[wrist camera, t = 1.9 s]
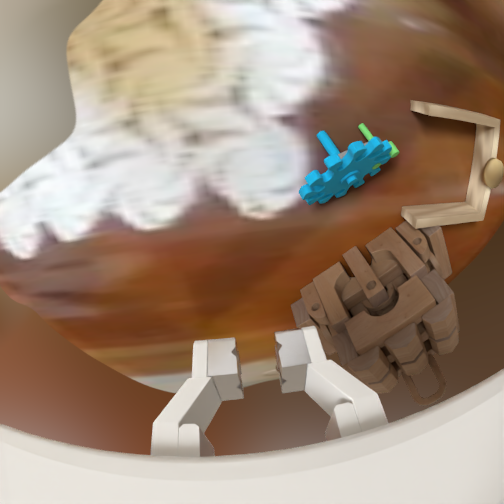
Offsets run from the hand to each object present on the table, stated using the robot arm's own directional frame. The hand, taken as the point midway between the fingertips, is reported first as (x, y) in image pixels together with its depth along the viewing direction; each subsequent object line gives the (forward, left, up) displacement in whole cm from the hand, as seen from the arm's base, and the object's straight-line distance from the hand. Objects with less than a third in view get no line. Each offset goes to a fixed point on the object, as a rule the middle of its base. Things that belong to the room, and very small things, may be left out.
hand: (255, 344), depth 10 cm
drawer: (0, +27, -21) cm, 34 cm away
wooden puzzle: (+17, +17, -22) cm, 33 cm away
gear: (0, +11, -21) cm, 24 cm away
